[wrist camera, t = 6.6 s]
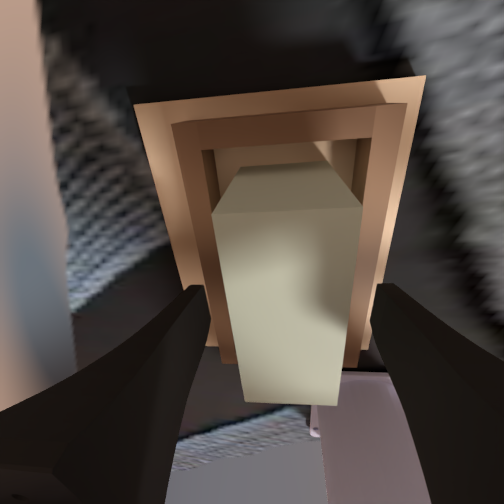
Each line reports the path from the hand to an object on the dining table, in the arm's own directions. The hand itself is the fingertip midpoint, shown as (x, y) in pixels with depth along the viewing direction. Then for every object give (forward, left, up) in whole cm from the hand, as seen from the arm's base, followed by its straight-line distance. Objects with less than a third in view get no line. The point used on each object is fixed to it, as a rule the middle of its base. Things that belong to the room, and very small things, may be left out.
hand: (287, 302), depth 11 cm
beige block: (0, 0, -4) cm, 4 cm away
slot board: (0, 0, -5) cm, 5 cm away
